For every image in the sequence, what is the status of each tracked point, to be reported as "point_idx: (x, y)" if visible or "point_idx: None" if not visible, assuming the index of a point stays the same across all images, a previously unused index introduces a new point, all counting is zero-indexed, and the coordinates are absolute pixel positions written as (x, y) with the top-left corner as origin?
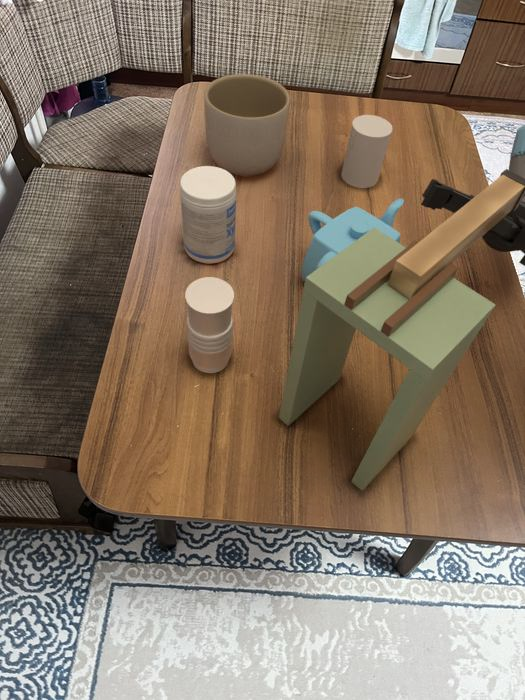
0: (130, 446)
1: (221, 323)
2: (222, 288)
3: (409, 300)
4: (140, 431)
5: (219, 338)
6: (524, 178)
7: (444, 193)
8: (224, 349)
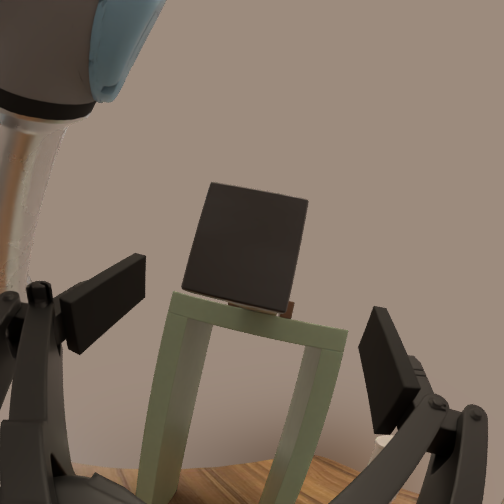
0: (324, 470)
1: (371, 458)
2: None
3: None
4: (330, 475)
5: None
6: (237, 186)
7: (384, 356)
8: None
